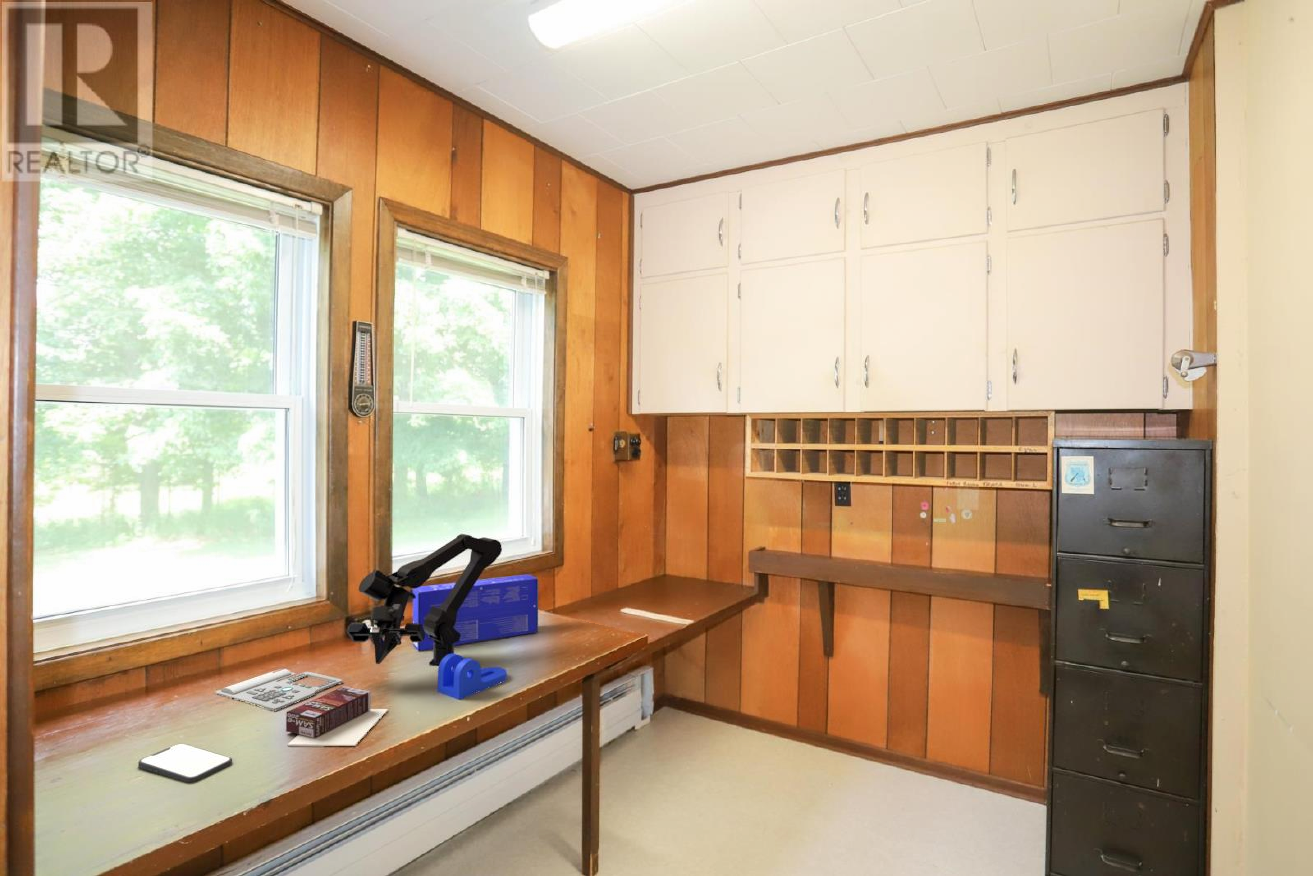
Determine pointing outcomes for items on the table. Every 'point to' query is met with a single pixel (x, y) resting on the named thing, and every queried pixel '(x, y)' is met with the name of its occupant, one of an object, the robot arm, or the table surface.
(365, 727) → the mat
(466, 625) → the toner cartridge box
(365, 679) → the table surface
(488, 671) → the bracket
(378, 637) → the robot arm
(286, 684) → the office telephone
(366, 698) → the supplement box
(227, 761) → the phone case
